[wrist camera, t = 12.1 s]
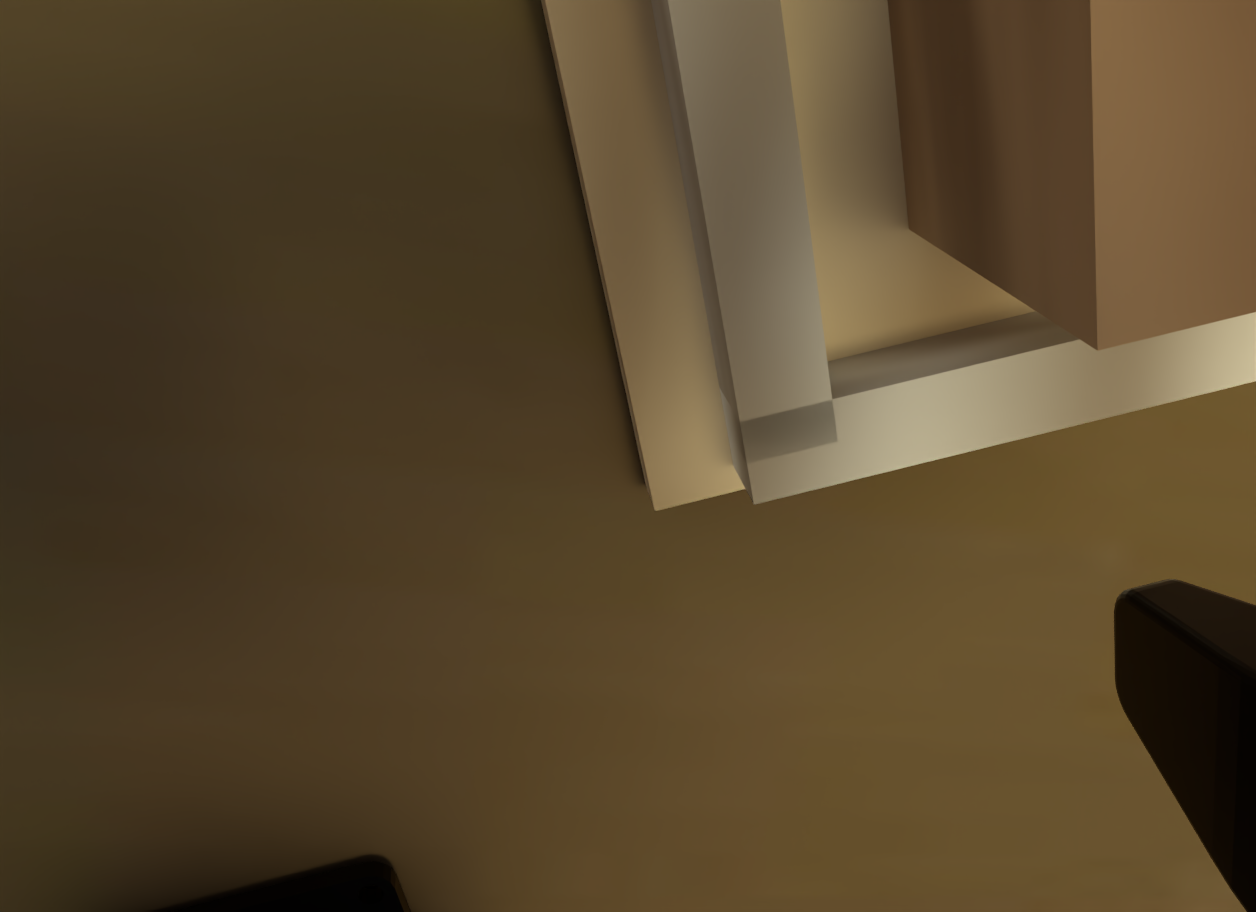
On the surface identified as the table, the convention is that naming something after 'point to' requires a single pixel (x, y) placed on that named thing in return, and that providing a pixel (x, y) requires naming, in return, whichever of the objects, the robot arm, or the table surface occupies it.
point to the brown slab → (1086, 154)
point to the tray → (806, 261)
